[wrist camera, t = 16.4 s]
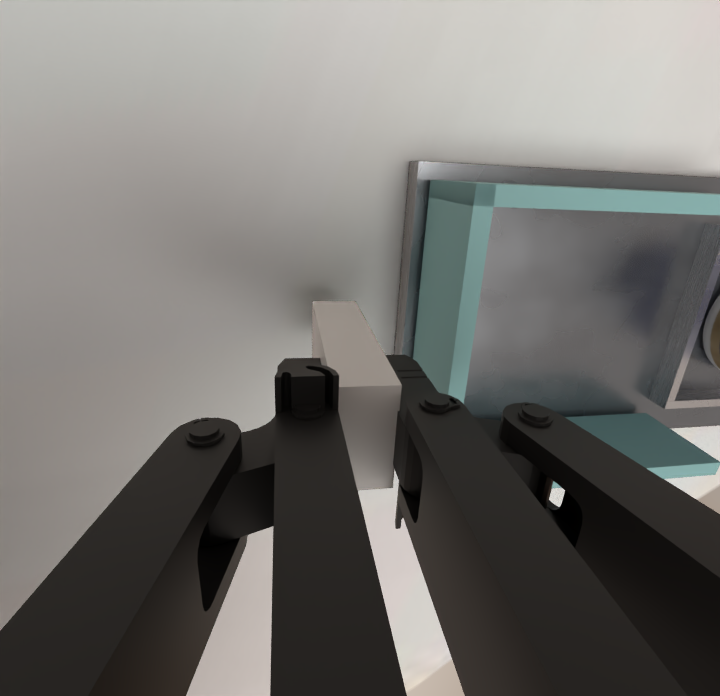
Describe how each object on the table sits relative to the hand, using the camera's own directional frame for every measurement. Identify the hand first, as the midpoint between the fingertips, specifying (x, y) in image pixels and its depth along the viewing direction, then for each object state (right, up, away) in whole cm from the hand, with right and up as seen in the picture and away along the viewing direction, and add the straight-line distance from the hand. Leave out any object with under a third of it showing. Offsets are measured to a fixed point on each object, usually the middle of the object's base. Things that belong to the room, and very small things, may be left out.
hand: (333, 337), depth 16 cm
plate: (+13, +1, +5) cm, 14 cm away
